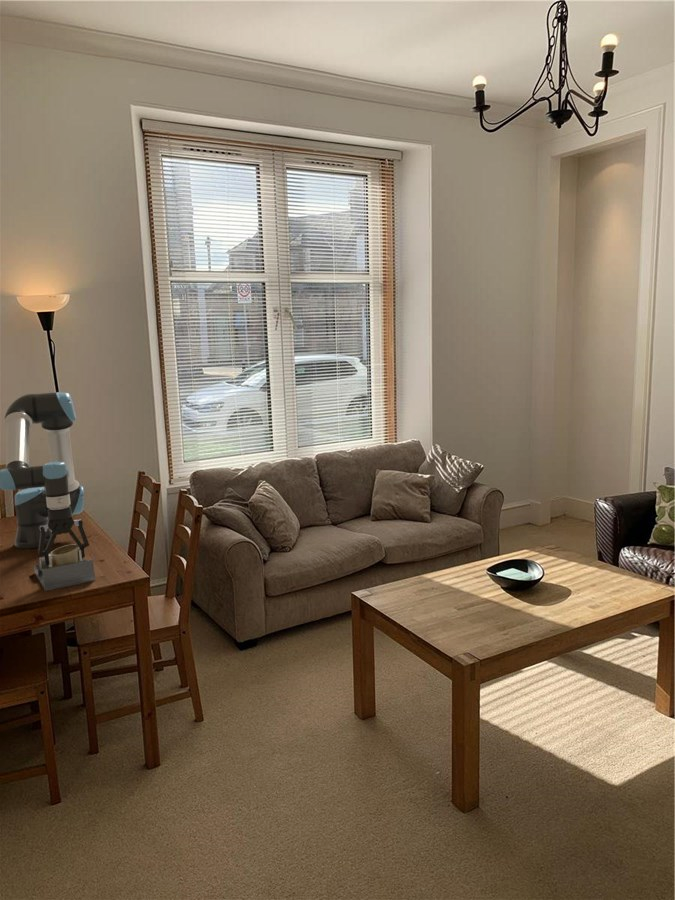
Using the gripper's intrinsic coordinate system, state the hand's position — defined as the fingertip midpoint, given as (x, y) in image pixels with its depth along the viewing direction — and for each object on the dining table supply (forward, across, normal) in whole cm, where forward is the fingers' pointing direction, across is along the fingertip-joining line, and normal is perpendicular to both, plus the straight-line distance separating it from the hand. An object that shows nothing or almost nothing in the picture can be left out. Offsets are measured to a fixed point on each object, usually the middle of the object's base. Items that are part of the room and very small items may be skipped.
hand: (66, 570), depth 230 cm
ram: (+1, 0, +11) cm, 11 cm away
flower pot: (+1, +2, 0) cm, 2 cm away
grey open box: (+3, 0, +4) cm, 5 cm away
